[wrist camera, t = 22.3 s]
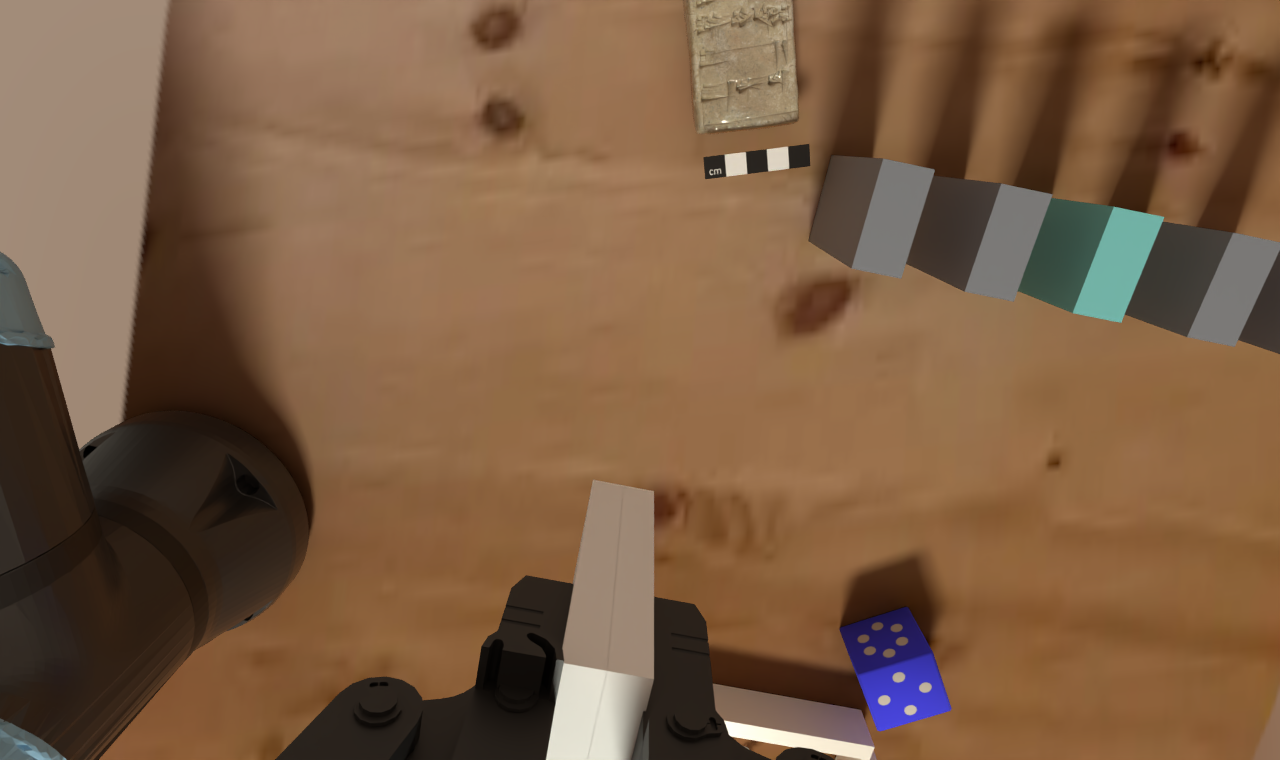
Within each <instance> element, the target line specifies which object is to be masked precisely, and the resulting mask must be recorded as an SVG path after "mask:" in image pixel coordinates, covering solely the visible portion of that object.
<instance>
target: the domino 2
mask: <svg viewBox="0 0 1280 760" xmlns="http://www.w3.org/2000/svg"><path fill="white" fill-rule="evenodd" d="M1052 195H1053V194H1048V193H1043V192H1039V191H1034V190H1029V189H1025V188H1020V187H1015V186H1010V185H1006V184H1001V183H992V182H983V181H975V180H966V179H958V178H949V177H941V176H933V178H932V181H931V184H930V188H929V191H928V194H927V197H926V200H925V204H924V207H923V210H922V213H921V217H920V220H919V223H918V226H917V229H916V233H915V236H914V239H913V242H912V245H911V249H910V252H909V255H908V258H907V261H906V264H908V265H910V266H912V267H914V268H917V269H919V270H921V271H923V272H925V273H927V274H929V275H931V276H933V277H935V278H937V279H940V280H942V281H944V282H946V283H948V284H950V285H952V286H954V287H956V288H958V289H960V290H963V291H965V292H969V293H974V294H979V295H984V296H989V297H994V298H999V299H1004V300H1008V301H1013V302H1014V299H1015V296H1016V294H1017V291H1018V288H1019V285H1020V283H1021V280H1022V277H1023V274H1024V272H1025V269H1026V266H1027V263H1028V261H1029V258H1030V255H1031V252H1032V250H1033V247H1034V244H1035V241H1036V239H1037V236H1038V233H1039V230H1040V228H1041V225H1042V222H1043V219H1044V217H1045V214H1046V211H1047V208H1048V206H1049V203H1050V200H1051V197H1052Z"/></svg>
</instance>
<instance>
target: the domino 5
mask: <svg viewBox="0 0 1280 760" xmlns="http://www.w3.org/2000/svg"><path fill="white" fill-rule="evenodd" d="M1238 340H1240V341H1243V342H1246V343H1249V344H1252V345H1255V346H1258V347H1261V348H1264V349H1267V350H1270V351H1272V352H1275V353H1278V354H1280V251H1279V253H1278V255H1277V257H1276V259H1275V261H1274V264H1273V266H1272V268H1271V270H1270V272H1269V274H1268V276H1267V279H1266V281H1265V283H1264V285H1263V287H1262V289H1261V291H1260V294H1259V296H1258V298H1257V300H1256V302H1255V304H1254V306H1253V309H1252V311H1251V313H1250V315H1249V317H1248V319H1247V321H1246V324H1245V326H1244V328H1243V330H1242V332H1241V334H1240V336H1239V339H1238Z"/></svg>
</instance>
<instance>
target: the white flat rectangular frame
mask: <svg viewBox="0 0 1280 760" xmlns="http://www.w3.org/2000/svg"><path fill="white" fill-rule="evenodd" d="M713 690H714V699H715V709H716V711H717V713H718V714H719V715H720V716H721V717H722V718H723V720H724V722H725V724H726V727H727V730H728V734H729V735H730V736H732V737H738V738H744V739H749V740H755V741H761V742H767V743H772V744H778V745H784V746H789V747H795V748H796V747H802V748H809V749H814V750H816V751H819V752H824V753H830V754H835V755H836V758H835V760H877V758H876V755H875V753H874V744H873V741H872V739H871V736H870V733H869V730H868V728H867V725H866V722H865V719H864V717H863V714H862V711H861V710H859V709H853V708H848V707H842V706H836V705H831V704H825V703H819V702H814V701H808V700H803V699H797V698H791V697H786V696H780V695H774V694H769V693H763V692H758V691H752V690H746V689H741V688H735V687H729V686H724V685H718V684H713Z"/></svg>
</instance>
